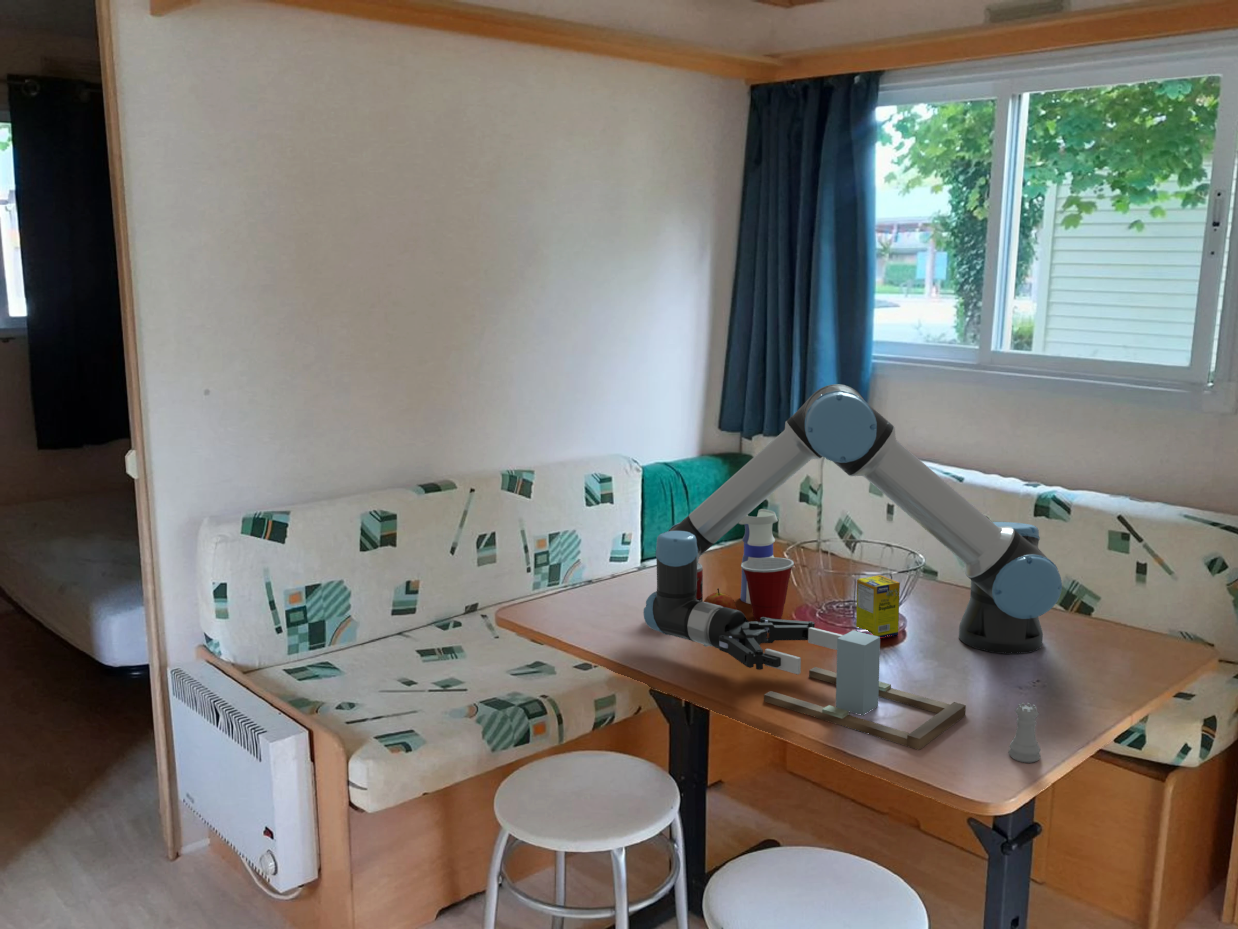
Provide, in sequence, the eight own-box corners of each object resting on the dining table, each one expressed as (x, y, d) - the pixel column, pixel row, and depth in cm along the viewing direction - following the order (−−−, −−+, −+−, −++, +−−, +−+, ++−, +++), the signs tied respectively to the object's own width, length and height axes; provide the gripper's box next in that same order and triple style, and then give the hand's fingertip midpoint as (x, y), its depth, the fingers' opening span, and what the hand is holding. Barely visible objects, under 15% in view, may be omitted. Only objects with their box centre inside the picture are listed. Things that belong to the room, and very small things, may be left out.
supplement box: (899, 636, 208) (900, 582, 206) (874, 641, 206) (876, 586, 203) (879, 626, 213) (880, 574, 211) (855, 631, 211) (856, 578, 209)
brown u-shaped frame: (764, 701, 178) (764, 691, 178) (815, 673, 190) (815, 663, 190) (919, 750, 160) (919, 739, 160) (965, 715, 172) (965, 705, 171)
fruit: (742, 629, 213) (742, 591, 211) (711, 634, 210) (711, 595, 209) (726, 619, 219) (726, 581, 218) (696, 624, 217) (695, 586, 215)
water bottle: (731, 595, 234) (731, 484, 230) (766, 591, 237) (767, 481, 232) (746, 606, 227) (747, 492, 222) (783, 602, 229) (784, 488, 225)
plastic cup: (758, 606, 227) (758, 551, 225) (802, 616, 220) (803, 560, 218) (730, 619, 219) (730, 563, 217) (775, 630, 212) (776, 572, 210)
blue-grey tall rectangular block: (835, 707, 176) (837, 638, 173) (851, 698, 179) (853, 630, 177) (862, 715, 172) (864, 645, 170) (878, 706, 176) (880, 637, 174)
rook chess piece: (1033, 749, 160) (1036, 699, 158) (1045, 763, 155) (1048, 712, 154) (1003, 750, 159) (1006, 700, 158) (1015, 764, 155) (1018, 713, 154)
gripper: (758, 628, 202) (857, 654, 188) (675, 666, 184) (779, 698, 170) (758, 590, 201) (859, 614, 187) (675, 625, 183) (780, 654, 169)
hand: (821, 654), depth 179 cm, fingers open, 13 cm apart
